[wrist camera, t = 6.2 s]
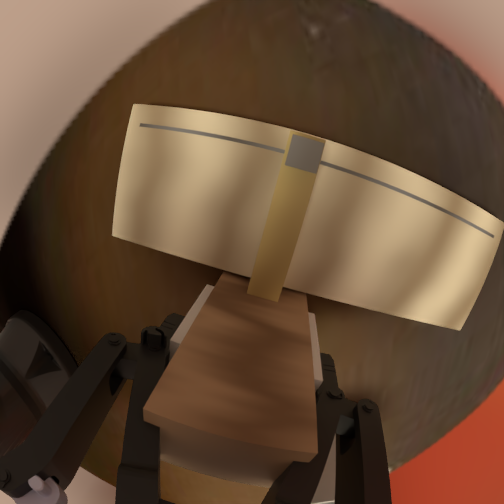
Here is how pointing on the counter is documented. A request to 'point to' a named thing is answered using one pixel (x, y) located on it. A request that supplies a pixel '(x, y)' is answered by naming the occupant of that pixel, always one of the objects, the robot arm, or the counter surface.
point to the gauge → (248, 356)
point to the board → (316, 218)
